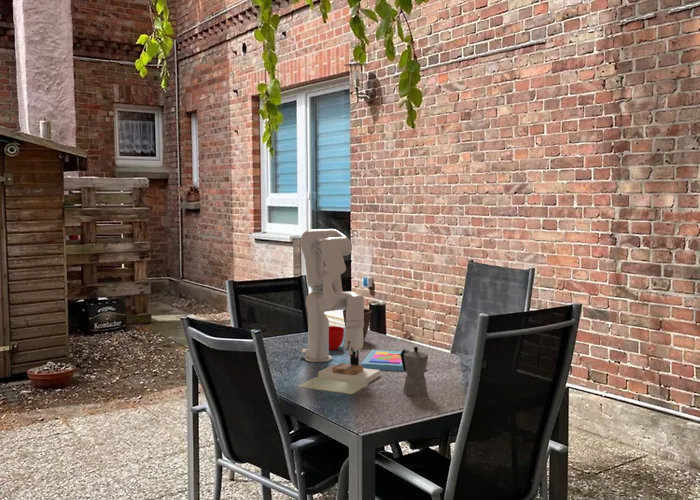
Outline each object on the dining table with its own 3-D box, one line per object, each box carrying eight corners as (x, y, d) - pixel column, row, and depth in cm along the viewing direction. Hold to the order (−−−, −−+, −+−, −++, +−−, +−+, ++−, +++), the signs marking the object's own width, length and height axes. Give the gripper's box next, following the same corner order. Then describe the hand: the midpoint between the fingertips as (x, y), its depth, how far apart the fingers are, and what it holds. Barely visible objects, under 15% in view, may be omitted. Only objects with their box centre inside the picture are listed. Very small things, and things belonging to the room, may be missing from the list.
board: (318, 377, 291) (318, 371, 290) (333, 370, 303) (333, 364, 303) (366, 384, 281) (366, 377, 281) (380, 376, 294) (380, 370, 294)
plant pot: (371, 344, 357) (371, 313, 355) (342, 344, 357) (342, 313, 356) (370, 338, 371) (371, 308, 370) (342, 338, 372) (343, 308, 370)
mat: (297, 386, 276) (297, 386, 276) (316, 377, 291) (316, 376, 291) (352, 394, 266) (352, 393, 266) (368, 384, 281) (368, 383, 281)
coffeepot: (436, 395, 266) (436, 348, 265) (417, 399, 261) (417, 351, 259) (410, 386, 279) (410, 341, 277) (391, 389, 273) (391, 344, 272)
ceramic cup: (352, 346, 352) (352, 326, 351) (334, 352, 337) (335, 332, 336) (330, 343, 358) (330, 324, 358) (312, 349, 344) (312, 329, 343)
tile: (332, 372, 289) (332, 367, 289) (341, 367, 297) (341, 363, 297) (354, 375, 285) (354, 370, 285) (363, 370, 293) (363, 365, 293)
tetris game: (361, 369, 306) (425, 373, 301) (361, 363, 306) (425, 366, 301) (371, 355, 334) (430, 358, 328) (371, 349, 334) (430, 352, 328)
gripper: (353, 320, 303) (353, 361, 305) (339, 325, 290) (339, 369, 291) (369, 321, 300) (369, 363, 302) (355, 327, 287) (355, 371, 288)
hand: (354, 366), depth 297 cm, fingers closed
